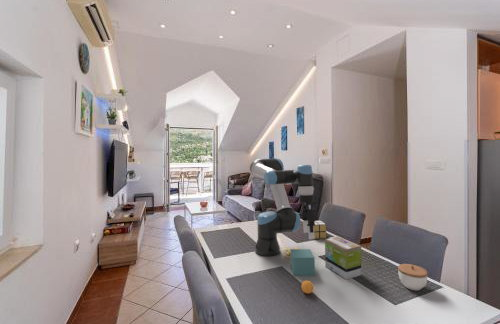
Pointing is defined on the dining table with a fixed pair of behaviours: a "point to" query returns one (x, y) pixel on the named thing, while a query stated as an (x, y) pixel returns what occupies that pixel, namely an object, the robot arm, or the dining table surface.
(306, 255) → the teal cube
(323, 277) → the dining table surface
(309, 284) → the ball
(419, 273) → the lidded jar
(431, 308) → the dining table surface
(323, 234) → the puzzle cube
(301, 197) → the robot arm
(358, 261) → the tea box
